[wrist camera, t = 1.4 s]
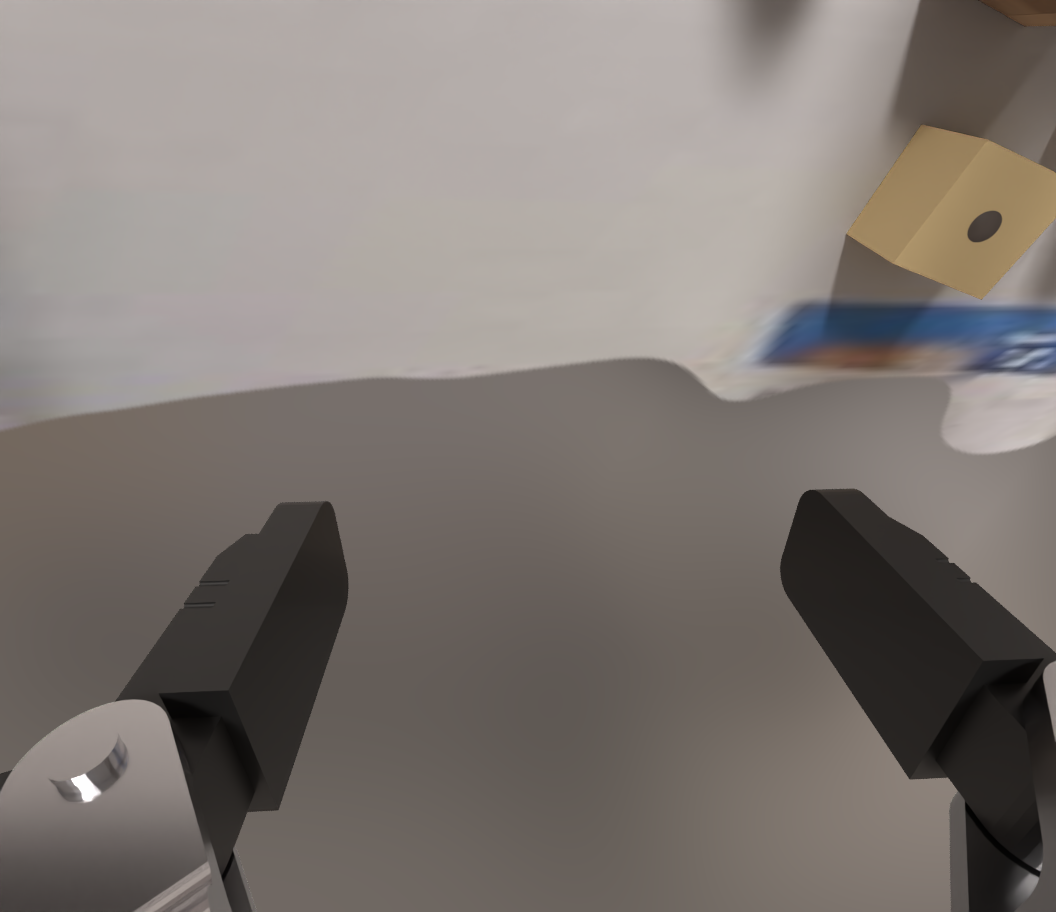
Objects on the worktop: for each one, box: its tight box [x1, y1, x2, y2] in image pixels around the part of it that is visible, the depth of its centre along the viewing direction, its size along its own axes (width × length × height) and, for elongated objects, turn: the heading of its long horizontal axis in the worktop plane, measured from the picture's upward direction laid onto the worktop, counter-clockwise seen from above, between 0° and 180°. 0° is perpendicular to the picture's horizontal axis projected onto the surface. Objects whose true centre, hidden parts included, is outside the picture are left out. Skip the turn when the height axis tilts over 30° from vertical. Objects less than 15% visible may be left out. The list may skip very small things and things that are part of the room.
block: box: [847, 125, 1056, 300], centre depth 27 cm, size 6×6×5 cm
